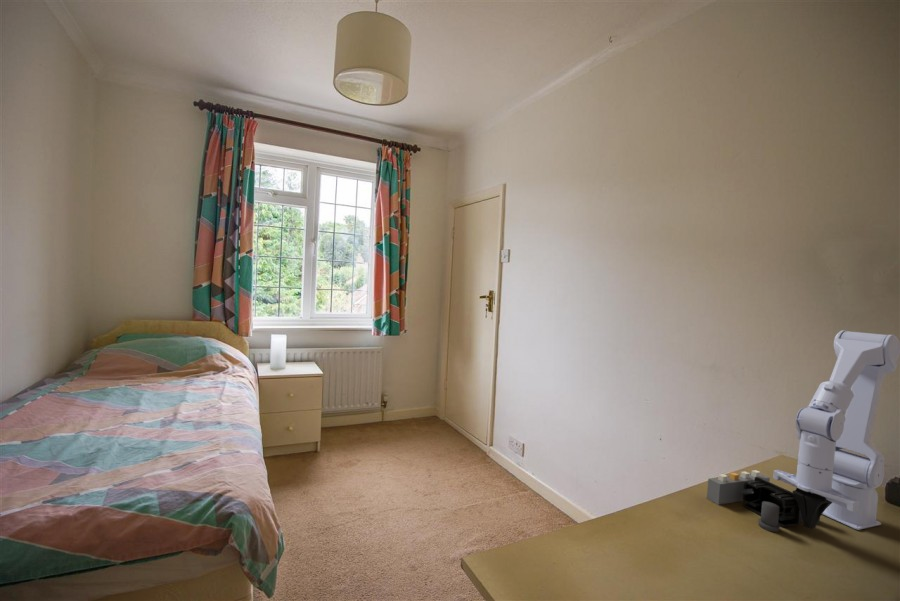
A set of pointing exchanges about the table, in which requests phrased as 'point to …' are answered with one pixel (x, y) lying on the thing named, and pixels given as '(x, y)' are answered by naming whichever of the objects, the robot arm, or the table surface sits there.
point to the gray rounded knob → (769, 517)
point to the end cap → (772, 501)
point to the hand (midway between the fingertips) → (809, 526)
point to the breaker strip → (731, 486)
